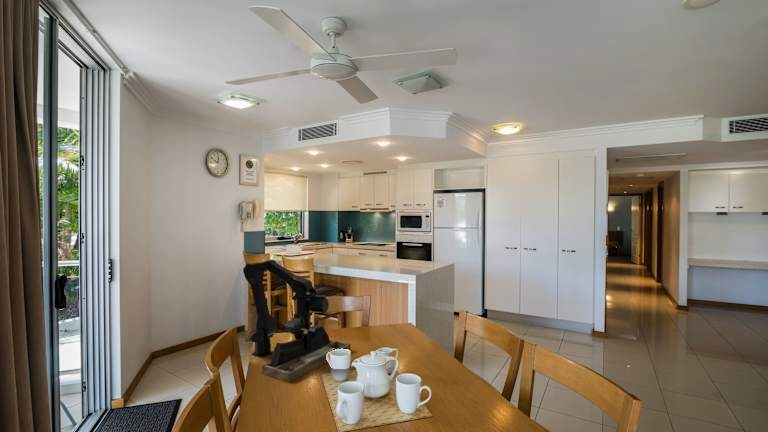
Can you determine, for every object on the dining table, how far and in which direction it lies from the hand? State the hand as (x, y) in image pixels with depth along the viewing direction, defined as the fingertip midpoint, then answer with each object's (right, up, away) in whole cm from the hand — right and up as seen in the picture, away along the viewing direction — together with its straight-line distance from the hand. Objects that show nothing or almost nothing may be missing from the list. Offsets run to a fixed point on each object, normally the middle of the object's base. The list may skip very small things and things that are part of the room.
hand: (303, 348), depth 150 cm
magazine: (0, -5, 0) cm, 5 cm away
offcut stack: (+6, -5, -3) cm, 8 cm away
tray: (+3, -5, -2) cm, 5 cm away
